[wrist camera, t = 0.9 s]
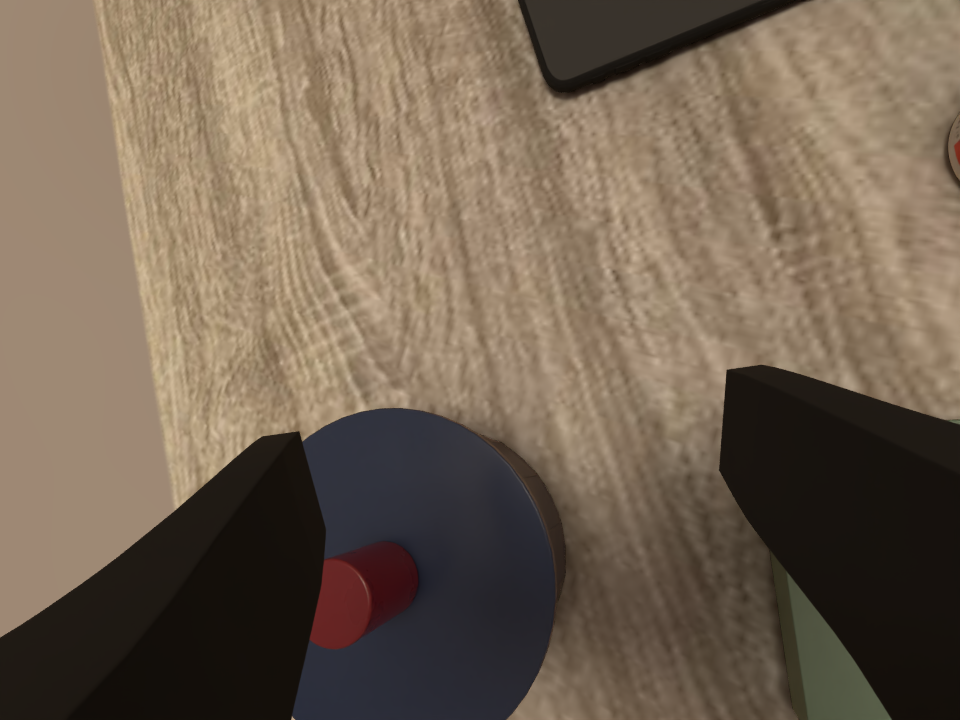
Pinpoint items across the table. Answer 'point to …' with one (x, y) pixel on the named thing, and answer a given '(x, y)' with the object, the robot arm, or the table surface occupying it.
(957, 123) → the pill bottle
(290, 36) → the table surface
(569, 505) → the table surface
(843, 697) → the sill
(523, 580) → the lid
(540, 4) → the smartphone
